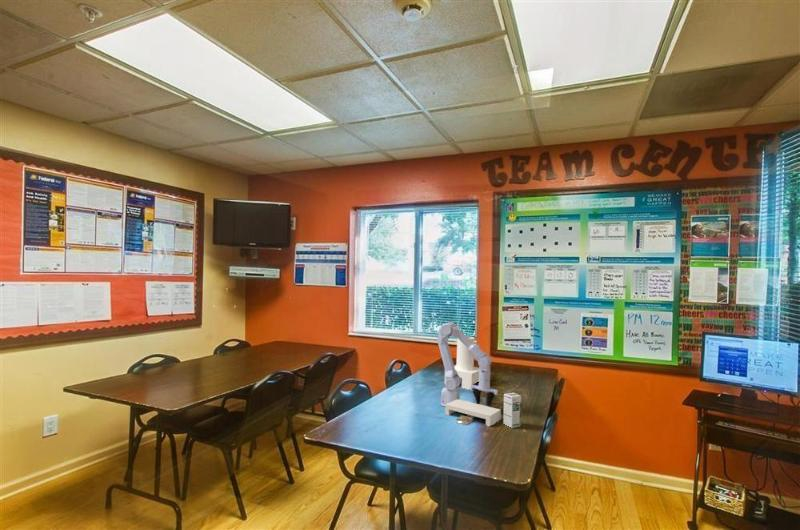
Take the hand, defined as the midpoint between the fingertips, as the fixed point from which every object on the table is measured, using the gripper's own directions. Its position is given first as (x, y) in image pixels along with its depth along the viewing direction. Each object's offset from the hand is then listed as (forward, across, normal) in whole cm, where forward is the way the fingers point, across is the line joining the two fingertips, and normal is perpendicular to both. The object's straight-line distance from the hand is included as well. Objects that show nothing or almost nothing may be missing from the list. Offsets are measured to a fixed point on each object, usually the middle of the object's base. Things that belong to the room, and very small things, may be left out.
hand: (483, 405), depth 210 cm
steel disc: (+3, 0, +22) cm, 22 cm away
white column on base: (+3, +33, -40) cm, 52 cm away
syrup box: (+3, -19, +9) cm, 21 cm away
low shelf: (+3, 0, +12) cm, 12 cm away
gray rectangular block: (+3, 0, +8) cm, 9 cm away
